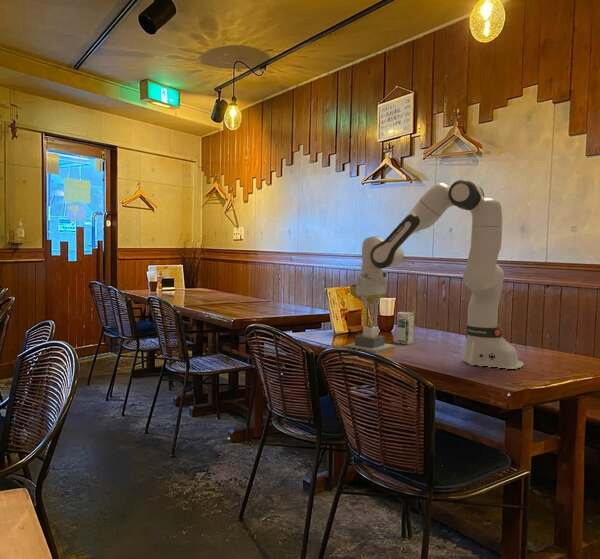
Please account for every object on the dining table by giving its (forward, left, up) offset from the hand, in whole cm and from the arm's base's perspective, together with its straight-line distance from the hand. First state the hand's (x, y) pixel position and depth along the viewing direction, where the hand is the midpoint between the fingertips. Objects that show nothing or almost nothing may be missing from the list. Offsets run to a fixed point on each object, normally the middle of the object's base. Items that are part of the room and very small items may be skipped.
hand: (371, 305), depth 219 cm
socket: (0, 0, -19) cm, 19 cm away
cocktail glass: (+16, -24, -19) cm, 35 cm away
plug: (0, 0, -18) cm, 18 cm away
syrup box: (-7, -20, -19) cm, 28 cm away
